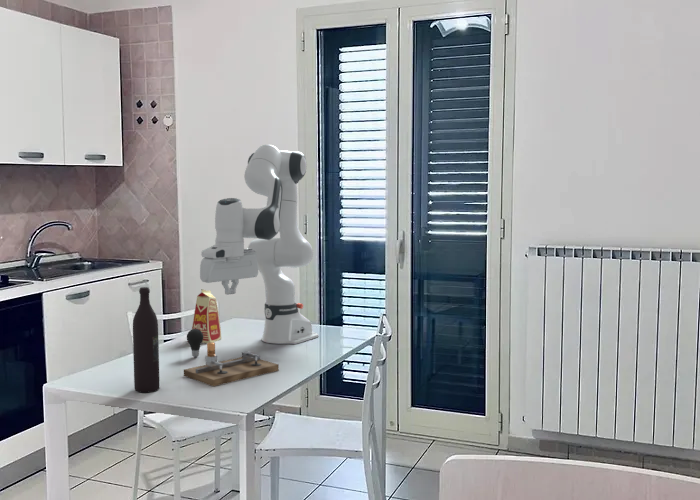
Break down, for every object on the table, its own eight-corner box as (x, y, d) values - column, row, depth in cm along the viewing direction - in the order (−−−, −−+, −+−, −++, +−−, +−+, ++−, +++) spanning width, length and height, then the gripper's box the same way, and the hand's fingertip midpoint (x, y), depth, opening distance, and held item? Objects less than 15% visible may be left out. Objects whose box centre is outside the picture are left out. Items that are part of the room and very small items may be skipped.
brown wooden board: (247, 361, 240) (247, 355, 240) (278, 370, 229) (278, 364, 228) (183, 375, 222) (183, 369, 222) (213, 386, 211) (213, 379, 211)
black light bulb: (199, 359, 242) (199, 330, 241) (184, 359, 243) (183, 330, 242) (206, 355, 247) (205, 327, 246) (191, 355, 248) (190, 326, 247)
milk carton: (210, 343, 266) (209, 290, 264) (189, 341, 269) (188, 289, 267) (223, 338, 274) (222, 287, 272) (202, 336, 277) (201, 285, 275)
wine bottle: (157, 392, 204) (154, 289, 201) (132, 393, 204) (129, 289, 201) (161, 385, 211) (159, 285, 208) (137, 386, 211) (134, 286, 208)
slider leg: (212, 367, 223) (211, 341, 222) (224, 371, 219) (224, 345, 218) (205, 368, 222) (205, 343, 221) (218, 373, 217) (217, 346, 216)
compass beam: (256, 358, 236) (256, 349, 235) (269, 362, 231) (269, 352, 231) (194, 372, 218) (194, 362, 218) (206, 376, 214) (206, 366, 214)
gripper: (250, 247, 233) (250, 289, 234) (196, 251, 218) (197, 296, 220) (262, 248, 228) (262, 291, 230) (208, 253, 214) (209, 298, 215)
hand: (230, 294), depth 225 cm, fingers closed
